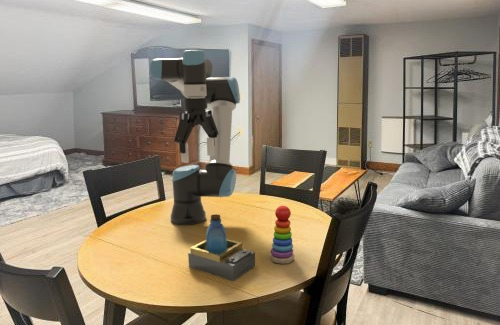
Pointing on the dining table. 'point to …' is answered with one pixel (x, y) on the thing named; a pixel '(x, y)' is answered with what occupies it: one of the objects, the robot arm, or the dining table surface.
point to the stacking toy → (282, 237)
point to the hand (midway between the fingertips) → (198, 159)
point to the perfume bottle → (216, 235)
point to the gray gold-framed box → (222, 260)
